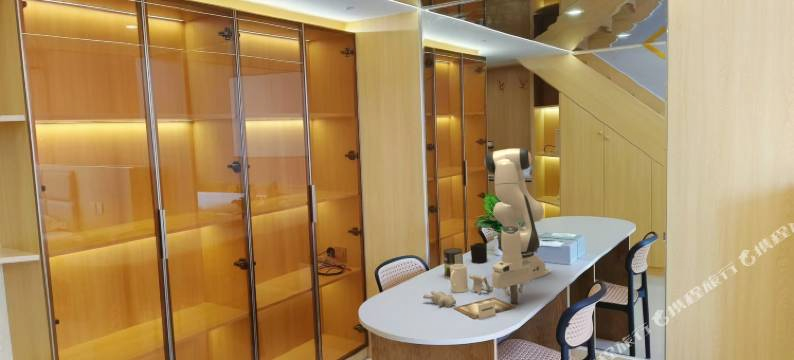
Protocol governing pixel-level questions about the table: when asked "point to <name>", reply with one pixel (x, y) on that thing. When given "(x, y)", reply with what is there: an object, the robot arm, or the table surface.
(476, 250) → the pen holder
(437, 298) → the bunny figurine
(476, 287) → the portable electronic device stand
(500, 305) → the picture frame
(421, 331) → the table surface
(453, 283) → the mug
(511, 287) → the marker
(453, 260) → the coffee can
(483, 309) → the word card
